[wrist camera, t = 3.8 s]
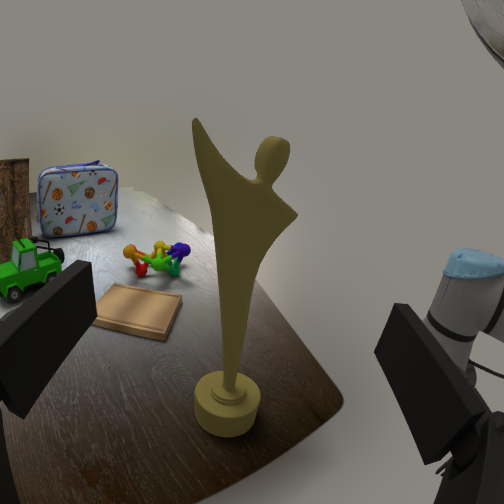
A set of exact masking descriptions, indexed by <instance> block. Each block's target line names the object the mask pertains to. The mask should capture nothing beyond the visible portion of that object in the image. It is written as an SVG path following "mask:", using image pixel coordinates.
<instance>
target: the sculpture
mask: <svg viewBox="0 0 504 504" xmlns="http://www.w3.org/2000/svg"><path fill="white" fill-rule="evenodd" d="M192 132H193V141H194V148H195V155H196V159H197V163H198V168H199V172H200V175H201V178H202V182H203V185H204V188H205V191H206V195H207V198H208V202H209V206H210V211H211V216H212V224H213V233H214V242H215V252H216V261H217V273H218V285H219V296H220V311H221V325H222V345H223V371H215V372H212V373H209V374H207V375H205V376H204V377H203V378H201V379H200V380H199V382H198V383H197V385H196V388H195V392H194V410H195V417H196V420H197V422H198V424H199V425H200V426H201V427H202V428H203V429H204V430H205V431H207V432H208V433H210V434H213V435H215V436H219V437H236V436H239V435H242V434H244V433H245V432H247V431H248V430H249V429H250V428H251V427H252V425H253V424H254V421H255V417H256V413H257V410H258V406H259V402H260V391H259V388H258V386H257V385H256V384H255V382H254V381H253V380H251V379H250V378H249V377H247V376H245V375H243V374H241V373H238V368H239V363H240V358H241V353H242V348H243V343H244V338H245V332H246V326H247V320H248V314H249V307H250V301H251V295H252V291H253V286H254V282H255V278H256V275H257V272H258V269H259V266H260V263H261V262H262V260H263V258H264V256H265V254H266V252H267V251H268V249H269V248H270V246H271V245H272V244H273V242H274V241H275V239H276V238H277V237H278V236H279V235H280V234H281V233H282V231H283V230H284V229H285V228H286V227H288V226H289V225H290V224H291V222H293V221H294V220H295V219H296V218H297V216H298V214H297V213H296V212H295V211H294V210H293V209H292V208H291V207H290V206H289V205H288V204H287V203H285V202H284V201H283V200H282V199H281V198H280V197H279V196H278V195H277V194H276V193H275V192H274V191H273V189H272V185H273V183H274V182H275V181H276V179H277V178H278V177H279V175H280V174H281V172H282V171H283V170H284V167H285V166H286V164H287V161H288V158H289V154H290V144H289V142H288V141H287V140H285V139H283V138H281V137H274V136H271V137H267V138H266V139H265V140H264V141H263V142H262V143H261V144H260V146H259V148H258V150H257V152H256V157H255V169H256V171H257V178H256V179H255V180H248V179H247V178H245V177H243V176H242V175H240V174H239V173H238V172H237V171H236V170H235V169H234V168H232V167H231V165H230V164H229V163H228V162H227V161H226V160H225V159H224V158H223V157H222V155H221V154H220V153H219V151H218V150H217V149H216V147H215V146H214V144H213V143H212V142H211V140H210V138H209V136H208V135H207V133H206V131H205V130H204V128H203V126H202V124H201V123H200V122H199V120H198V119H197V118H195V119H193V121H192Z"/></svg>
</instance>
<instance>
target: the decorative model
mask: <svg viewBox="0 0 504 504" xmlns="http://www.w3.org/2000/svg"><path fill="white" fill-rule="evenodd" d="M154 249H155V250H154V251H153V252H152V254H151V255H148V254H146V253H143V252H141V251H138V250H137V249H136V247H135V246H134V245H132V244H130V245H128V246H126V247H125V248H124V250H123V254H124V256H125V257H126V258H128V259H131V260H132V261H133V263H134V264H135V266H136V269H135V272H136V274H137V275H138V276H144V275H146V273H147V268H146V267H147V266H148V265H149V264H152V268H153V269H154V270H156V271H161V270H162V269H165V270H168V271H169V273H170V274H171V275H172V276H177V275H178V274H179V273H180V267H179V265H180V263H181V261H182V259H183V257H185V256H188V255H189V254H190V252H191V249H190V246H189V245H187V244H182V243H180V242H179V243H176V244H175V245H174V246H173V245H166V244H165V243H164V242H163V241H158V242H156V243H155V245H154ZM165 250H168V252H166V251H165ZM163 258H164V259H163ZM174 258H175V259H174ZM138 259H140V260H142V261H145V262H144V264H140V262H139V260H138ZM173 259H174V264H173V263H172V261H171V260H173ZM167 263H168V264H167Z"/></svg>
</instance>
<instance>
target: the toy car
mask: <svg viewBox="0 0 504 504" xmlns="http://www.w3.org/2000/svg"><path fill="white" fill-rule="evenodd" d="M29 239H30V240H36V241H41V242H46V243H48V248H47V247H41V246H35V245H34V244H33V243H32V242H31V241H30V240H29ZM37 248H42V249H48V250H49V251H47V252H44V253H41V254H37ZM50 250H54V252H53V253H52V252H51V251H50ZM64 259H65V257H64V252H63V250H62V249H61V248H57V249H53V248H50V246H49V241H44V240H39V239H34V238H25V239H21V240H19V238H18V239H17V241H13V242H12V247H11V258H10V261H9V262H6V263H4V264H1V265H0V296H1V297H2V296H5V298H8V300H9V301H10V302H12V303H16V302H18V301H19V300H20V298H21V291H20V289H21V290H22V291H23V289H27V288H30V287H32V286H35V285H38V284H40V283H41V282H43V283H45V284H47V283H48V282H49V281H51V280H52V279H53V278H54V277H56V276H57V274H59V273H61V272H62V268H61V264H62V263H63V262H64ZM19 288H20V289H19Z"/></svg>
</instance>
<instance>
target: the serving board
mask: <svg viewBox="0 0 504 504" xmlns="http://www.w3.org/2000/svg"><path fill="white" fill-rule="evenodd" d="M181 302H182V295H178V294H172V293H166V292H160V291H154V290H149V289H143V288H138V287H132V286H127V285H121V284H116V283H114V284H113V285H112V286H111V287H110V288H109V289H108V290H107V292H106V293H105V294H104V295H103V296H102V297H101V298H100V299H99V301H98V302H97V303H96V308H97V314H98V317H97V318H96V319H95V320H94V322H93V323H92V325H96V326H99V327H103V328H107V329H111V330H115V331H120V332H124V333H128V334H133V335H137V336H142V337H146V338H151V339H156V340H161V341H165V340H166V337H167V335H168V333H169V330H170V328H171V325H172V323H173V321H174V318H175V316H176V314H177V312H178V309H179V307H180V305H181Z"/></svg>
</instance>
